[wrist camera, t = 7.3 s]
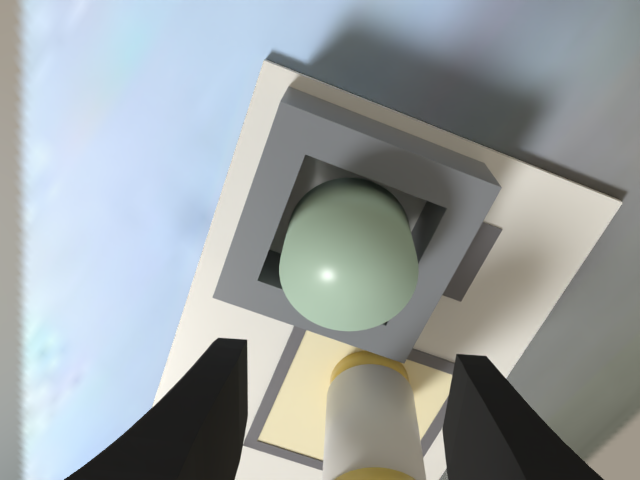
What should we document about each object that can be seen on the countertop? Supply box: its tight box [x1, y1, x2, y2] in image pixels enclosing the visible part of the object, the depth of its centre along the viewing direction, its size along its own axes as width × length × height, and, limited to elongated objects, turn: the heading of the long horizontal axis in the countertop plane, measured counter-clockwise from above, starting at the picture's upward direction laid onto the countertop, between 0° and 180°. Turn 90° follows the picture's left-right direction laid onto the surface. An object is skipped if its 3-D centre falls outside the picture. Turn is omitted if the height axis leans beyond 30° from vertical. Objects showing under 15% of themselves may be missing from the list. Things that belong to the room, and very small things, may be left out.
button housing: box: [212, 86, 502, 363], centre depth 19 cm, size 7×7×2 cm
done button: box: [279, 178, 419, 331], centre depth 17 cm, size 4×4×3 cm
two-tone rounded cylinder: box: [322, 351, 426, 480], centre depth 20 cm, size 4×4×7 cm
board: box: [152, 59, 623, 480], centre depth 22 cm, size 18×13×1 cm
